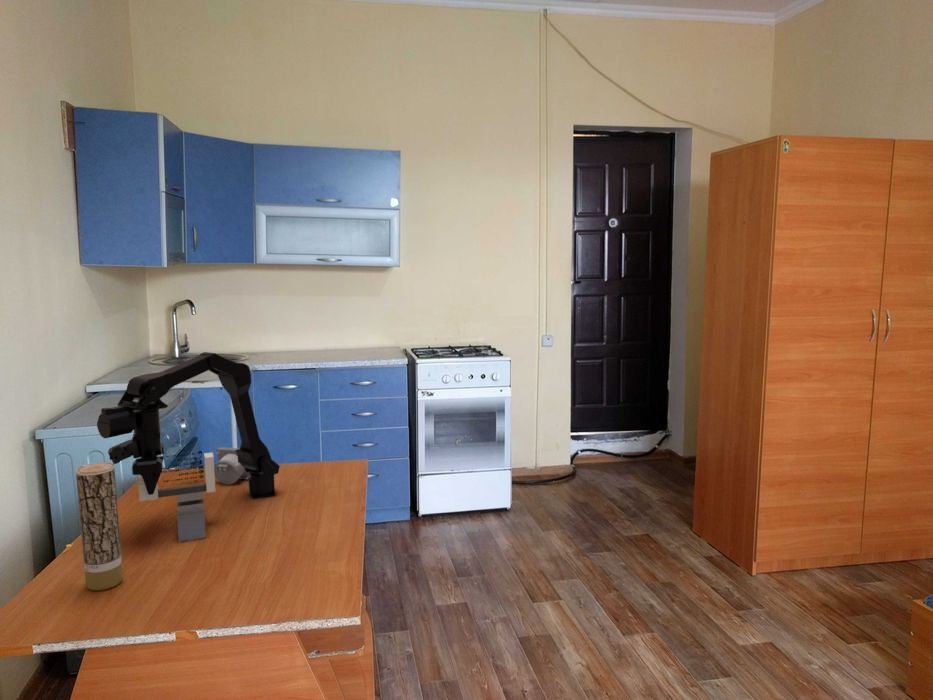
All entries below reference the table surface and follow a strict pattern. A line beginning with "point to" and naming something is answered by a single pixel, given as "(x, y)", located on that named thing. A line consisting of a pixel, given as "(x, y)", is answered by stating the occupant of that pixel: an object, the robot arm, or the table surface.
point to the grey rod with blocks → (180, 490)
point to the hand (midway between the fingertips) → (151, 491)
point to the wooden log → (99, 525)
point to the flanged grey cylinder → (219, 466)
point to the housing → (190, 516)
